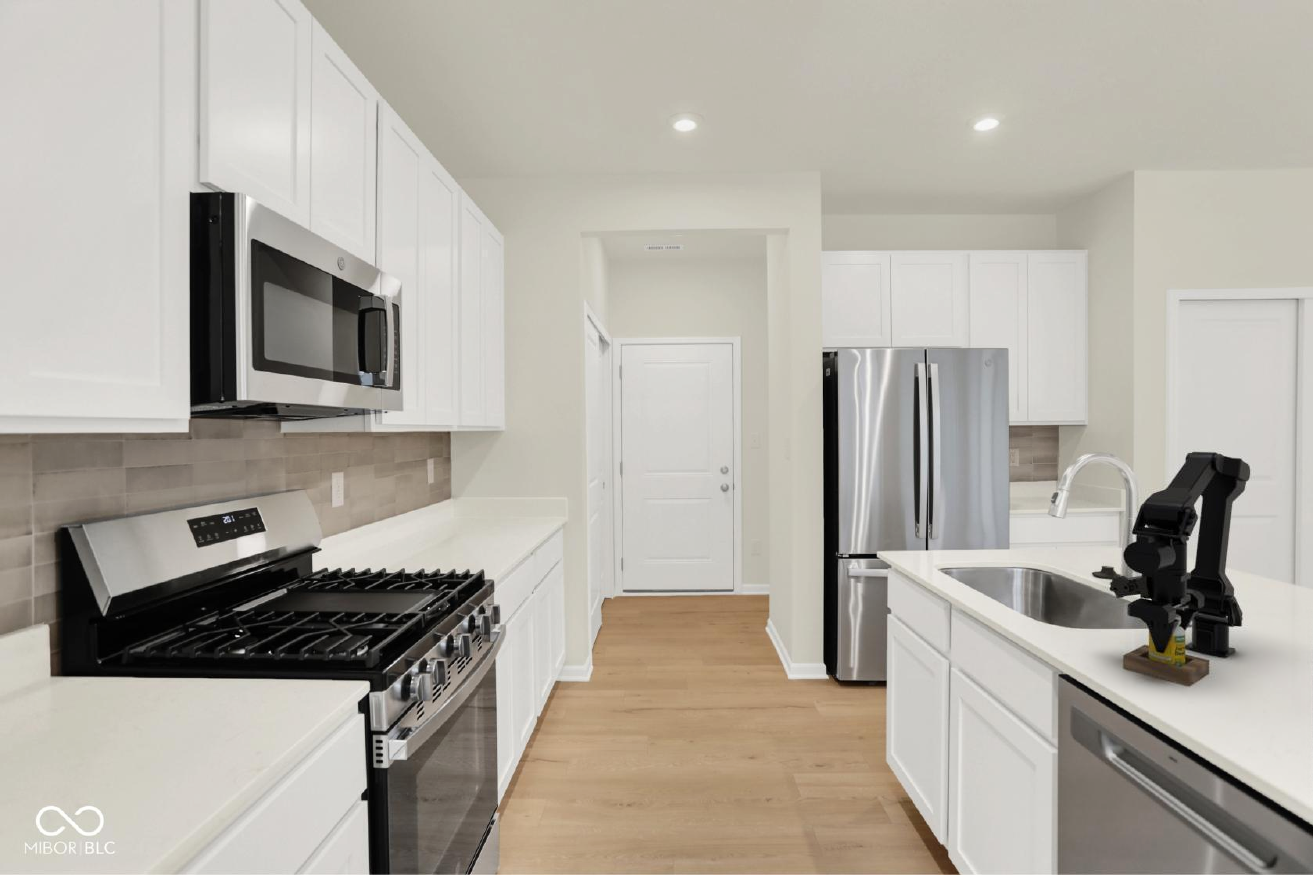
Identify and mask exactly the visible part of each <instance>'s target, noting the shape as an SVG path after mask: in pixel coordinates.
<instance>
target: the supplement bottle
mask: <svg viewBox="0 0 1313 875" xmlns="http://www.w3.org/2000/svg"><path fill="white" fill-rule="evenodd" d="M1175 619H1177V620H1179V623H1178V625H1177V627H1176V629H1175V631H1174V633H1173V635H1172V638H1171V640H1170V642H1169V644H1168V646H1167V648H1166V650H1165V652H1164V653H1159V652H1157V651H1156V649H1155V646H1154V643H1153V640H1152V637H1151V634H1150V631H1149V630H1148V645H1149V659H1151V660H1155V661H1159V662H1163V663H1167V664H1171V665H1175V666H1179V667H1182V666H1183V665H1185V654H1186V648H1185V645H1186V631H1185V630H1184V629H1183V628H1182V627H1180V626H1179V625H1180V623H1181V617H1180V616H1179V615H1177V614H1176V617H1175Z"/></svg>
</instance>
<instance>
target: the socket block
mask: <svg viewBox="0 0 1313 875" xmlns="http://www.w3.org/2000/svg"><path fill="white" fill-rule="evenodd" d="M1122 658H1123V660H1122V663H1123V664H1122V666H1123V667H1122V668H1123V669H1125V670H1128V671H1132V672H1135V673H1139V674H1142V673H1144V674H1143V675H1146V674H1147V675H1146V676H1149V675H1151V676H1150V677H1152V678H1153V677H1154V678H1157V677H1160V678H1162V679H1161V680H1164V679H1165V681H1168V680H1171V681H1174V682H1173V683H1175V682H1176V683H1175V684H1179V685H1182V684H1184V685H1183V686H1187V687H1190V686H1192V685H1194V684H1195V683H1197V682H1199V681H1200V680H1201V679H1203V678H1205V677H1206V676H1208V675H1209V674H1210V659H1207V658H1203V657H1199V656H1195V655H1189V654H1187V653H1185V665H1183V666H1182V667H1179V666H1175V665H1171V664H1167V663H1163V662H1159V661H1155V660H1151V659H1149V644H1143V645H1141V646H1140V647H1137V648H1135V649H1134V650H1131V651H1129V652H1127V653H1125V654H1123V656H1122ZM1160 678H1159V679H1160ZM1171 681H1170V682H1171Z"/></svg>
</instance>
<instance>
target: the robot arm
mask: <svg viewBox="0 0 1313 875" xmlns="http://www.w3.org/2000/svg"><path fill="white" fill-rule="evenodd" d="M1250 477H1251V468H1250V465H1249V463H1247V462H1246V461H1245V460H1244V461H1243V459H1242V458H1239V457H1230V456H1226V455H1224V454H1221V453H1218V452H1215V451H1192V452H1188V453H1187V454H1186V456H1185V462H1184V463H1183V465H1182V466H1181V468H1180V469H1179V471H1178V472H1177V473H1176V474H1175V476H1174V477H1173V479H1172V480H1171V482H1169V484H1168V486H1167V487H1166V488H1165V489H1163V490H1158V491H1156V492H1153V493H1152V494H1151V495H1150V496H1149V497H1148V498H1146V499H1145V500H1144V502H1143V503H1141V505H1140V507H1139V510H1138V514H1137V516H1136V519H1135V522H1134V525H1133V528H1132V530H1131V533H1132V535H1136V536H1135V538H1136V539H1135V541H1134V542H1131V543H1130V544H1128V545H1127V546H1126V547H1125V549H1124V550H1123V553H1122V554H1123V555H1122V556H1123V560H1124V562H1125V565H1127V567H1128V568H1130V570H1132V571H1133V572H1135V573H1138V574H1141V575H1138V576H1130V577H1126V575H1120V576H1114V577H1112V578H1111V581H1110V582H1109V585H1110V586H1109V591H1110V592H1113V594H1115V598H1116V599H1123V598H1124V597H1129V596H1130V597H1131V596H1138V595H1140V596H1139V597H1140V598H1137V599H1134V600H1132V601H1131V602H1130V603H1128V604H1127V605H1126V606H1127V616H1129V617H1133V618H1137V619H1140V620H1141V621H1143V622H1144V623H1145V624H1146V626H1147V629H1148V632H1149V631H1150V634H1151V637H1152V640H1153V643H1154V646H1155V649H1156V651H1157V652H1159V653H1164V652H1165V650H1166V648H1167V646H1168V644H1169V642H1170V640H1171V638H1172V635H1173V633H1174V631H1175V629H1176V627H1177V625H1178V623H1179V620H1177V619H1175V617H1176V614H1177V615H1179V616H1180V617H1181V623H1180V625H1179V626H1180V627H1182V628H1183V629H1184V630H1185V632H1186V630H1187V629H1188V627H1189V626H1190V625H1191V642H1189V643H1187V644H1185V649H1187V650H1192V651H1196V652H1200V653H1203V654H1208V655H1213V656H1217V657H1222V658H1227V657H1229V656H1231V654H1234V653H1235V652H1236V648H1234V647H1230V628H1233V627H1242V626H1243V611H1242V609H1241V606H1240V605H1239V603H1238V601H1237V598H1236V596H1235V587H1234V586H1233V584H1232V583H1231V581H1230V579H1229V578H1228V576H1227V575H1226V568H1227V567H1226V566H1227V557H1228V547H1229V541H1230V540H1229V538H1230V529H1231V520H1232V511H1233V503H1234V502H1235V501H1236V500H1237V498H1239V497H1240V496H1241V495H1242V494H1243V493H1244V492H1245V490H1246V485H1247V484H1246V483H1247V482H1248V481H1249V480H1250ZM1200 496H1201V498H1202V501H1201V509H1200V510H1201V511H1200V517H1199V515H1198V514H1197V511H1196V507H1195V505H1196V503H1197V501H1198V500H1199V498H1200ZM1198 520H1199V525H1198V526H1199V527H1198V535H1197V545H1196V551H1195V552H1196V553H1195V554H1196V556H1195V563H1194V568H1193V569H1192V570H1191V571H1190V572H1188V541H1190V537H1192V536H1191V535H1192V533H1193V531H1194V529H1195V526H1196V524H1197V521H1198Z"/></svg>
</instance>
